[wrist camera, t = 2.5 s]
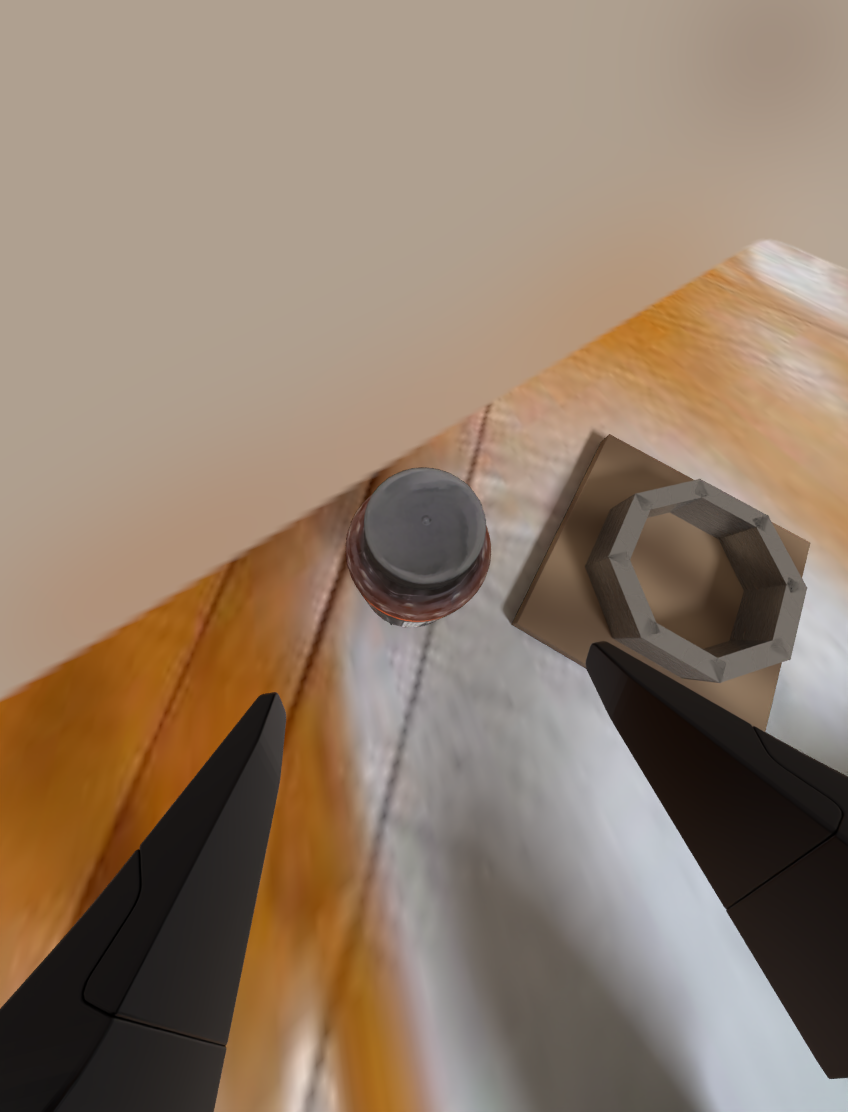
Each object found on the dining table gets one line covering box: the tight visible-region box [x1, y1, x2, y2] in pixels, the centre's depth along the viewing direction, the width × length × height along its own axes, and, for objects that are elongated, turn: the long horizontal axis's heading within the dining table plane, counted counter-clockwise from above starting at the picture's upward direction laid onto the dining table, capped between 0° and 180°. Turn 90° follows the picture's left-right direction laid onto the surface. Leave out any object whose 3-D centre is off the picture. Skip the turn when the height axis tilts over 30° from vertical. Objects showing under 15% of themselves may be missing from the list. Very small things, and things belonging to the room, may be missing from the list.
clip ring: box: [585, 479, 807, 683], centre depth 21 cm, size 11×12×2 cm
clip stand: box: [512, 434, 810, 732], centre depth 22 cm, size 16×16×1 cm
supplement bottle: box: [346, 468, 491, 627], centre depth 16 cm, size 6×6×11 cm
